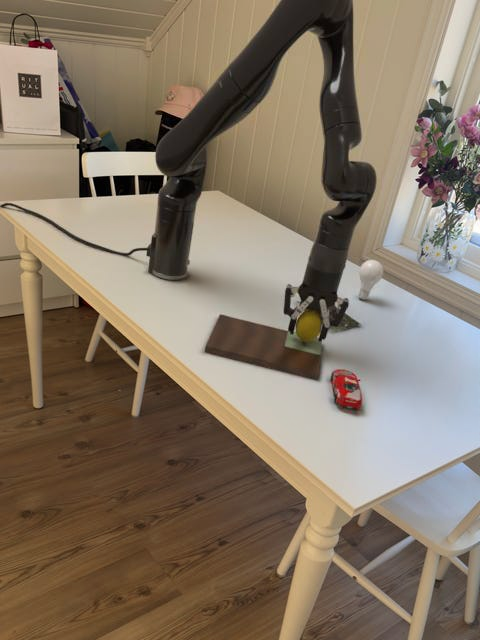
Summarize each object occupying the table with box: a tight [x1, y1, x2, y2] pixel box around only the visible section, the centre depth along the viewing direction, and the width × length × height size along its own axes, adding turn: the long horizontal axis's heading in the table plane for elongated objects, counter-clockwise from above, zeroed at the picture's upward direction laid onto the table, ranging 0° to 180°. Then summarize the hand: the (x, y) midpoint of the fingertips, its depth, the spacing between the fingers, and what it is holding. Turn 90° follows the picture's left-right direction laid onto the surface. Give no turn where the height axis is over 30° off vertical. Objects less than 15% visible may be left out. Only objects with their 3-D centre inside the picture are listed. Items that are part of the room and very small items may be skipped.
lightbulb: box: [357, 259, 385, 301], centre depth 161 cm, size 6×6×11 cm
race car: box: [330, 368, 363, 411], centre depth 121 cm, size 13×5×4 cm, turn 177°
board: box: [204, 314, 323, 381], centre depth 131 cm, size 24×16×2 cm, turn 81°
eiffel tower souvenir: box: [296, 300, 362, 333], centre depth 147 cm, size 15×10×13 cm
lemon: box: [295, 310, 323, 342], centre depth 131 cm, size 6×6×8 cm
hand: (305, 336), depth 132 cm, fingers open, 6 cm apart
